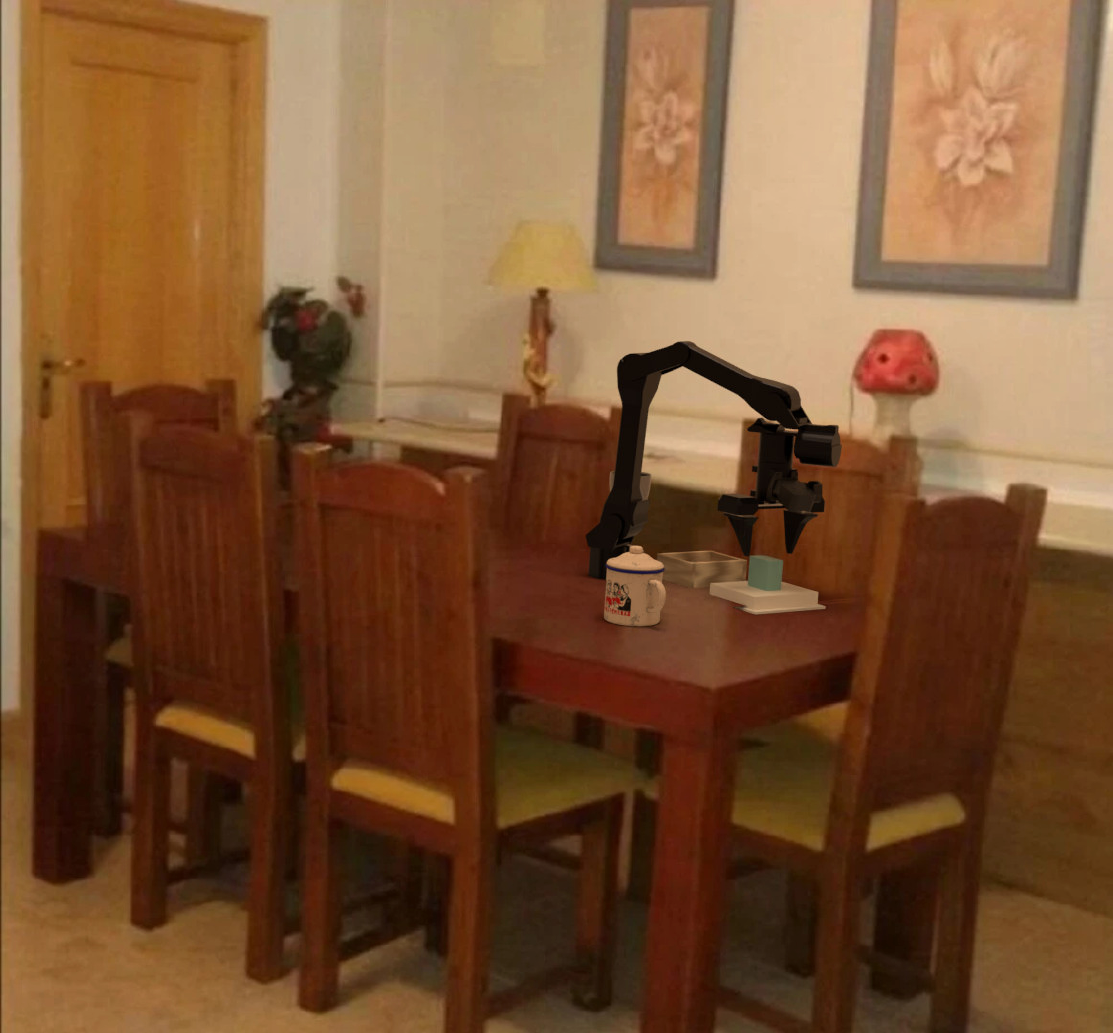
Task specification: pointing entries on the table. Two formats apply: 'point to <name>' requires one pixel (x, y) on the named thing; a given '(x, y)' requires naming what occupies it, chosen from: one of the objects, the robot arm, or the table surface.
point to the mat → (782, 609)
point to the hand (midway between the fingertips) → (768, 554)
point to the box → (701, 568)
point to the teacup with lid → (634, 589)
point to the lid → (764, 587)
